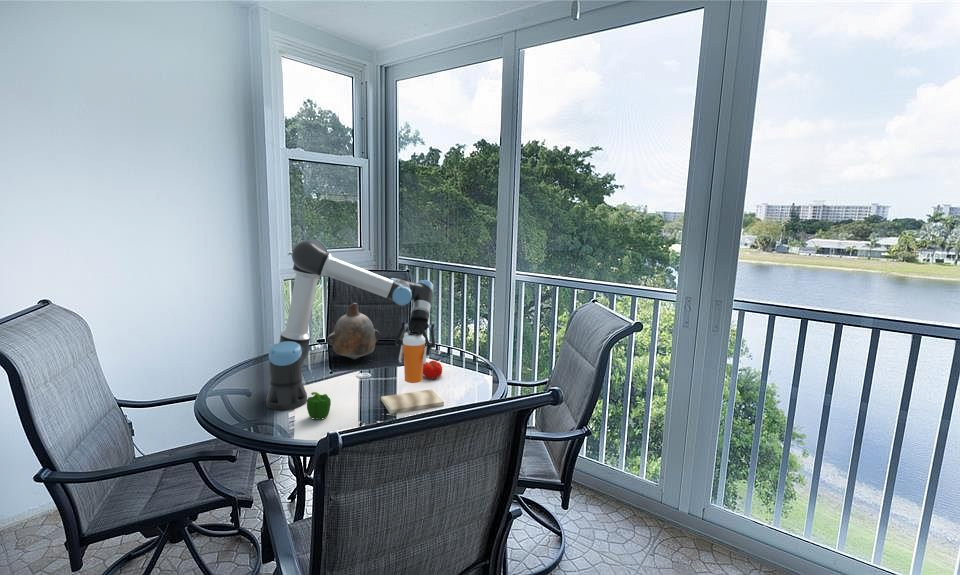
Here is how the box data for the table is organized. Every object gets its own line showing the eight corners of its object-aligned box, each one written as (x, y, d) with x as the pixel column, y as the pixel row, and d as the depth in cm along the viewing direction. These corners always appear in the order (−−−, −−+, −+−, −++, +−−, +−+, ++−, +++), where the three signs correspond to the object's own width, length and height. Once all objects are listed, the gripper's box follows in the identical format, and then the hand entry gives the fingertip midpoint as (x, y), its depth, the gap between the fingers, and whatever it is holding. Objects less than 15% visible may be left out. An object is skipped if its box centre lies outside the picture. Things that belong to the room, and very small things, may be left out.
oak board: (390, 413, 179) (390, 410, 179) (381, 400, 191) (381, 396, 191) (443, 405, 188) (443, 401, 188) (431, 392, 201) (431, 389, 200)
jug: (359, 349, 257) (358, 295, 252) (386, 357, 244) (386, 301, 239) (321, 360, 237) (319, 302, 232) (348, 369, 225) (347, 308, 220)
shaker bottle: (420, 385, 183) (421, 335, 180) (399, 382, 185) (399, 333, 181) (427, 377, 192) (428, 330, 188) (407, 375, 193) (407, 328, 190)
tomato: (423, 381, 214) (423, 367, 213) (419, 372, 225) (420, 359, 223) (444, 379, 217) (444, 366, 216) (440, 371, 227) (440, 358, 226)
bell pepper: (333, 412, 178) (333, 387, 177) (327, 422, 170) (326, 396, 169) (311, 412, 178) (310, 387, 176) (304, 421, 170) (303, 395, 168)
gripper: (446, 319, 199) (440, 367, 186) (396, 316, 200) (386, 364, 187) (445, 309, 193) (438, 359, 180) (393, 307, 194) (383, 355, 181)
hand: (412, 361), depth 184 cm, fingers closed on shaker bottle, 9 cm apart
